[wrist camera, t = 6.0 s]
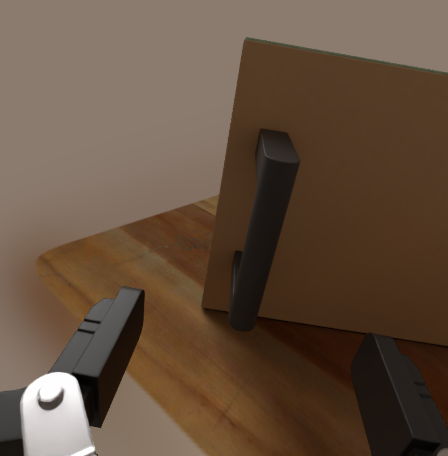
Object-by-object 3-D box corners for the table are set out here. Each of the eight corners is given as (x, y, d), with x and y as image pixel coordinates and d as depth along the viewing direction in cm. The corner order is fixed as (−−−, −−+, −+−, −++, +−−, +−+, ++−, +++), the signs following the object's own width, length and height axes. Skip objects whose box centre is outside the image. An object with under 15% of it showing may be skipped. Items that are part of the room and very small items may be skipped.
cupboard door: (509, 421, 21) (797, 135, 12) (189, 372, 20) (243, 36, 12) (452, 340, 27) (619, 106, 18) (202, 300, 26) (244, 39, 17)
